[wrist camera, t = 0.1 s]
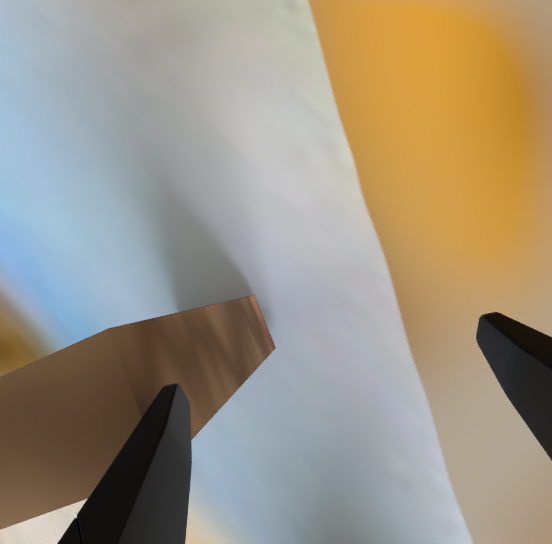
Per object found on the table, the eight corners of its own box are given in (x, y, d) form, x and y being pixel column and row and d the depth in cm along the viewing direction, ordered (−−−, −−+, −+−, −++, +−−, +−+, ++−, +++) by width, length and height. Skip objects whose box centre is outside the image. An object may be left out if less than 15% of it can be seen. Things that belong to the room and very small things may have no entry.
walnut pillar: (275, 347, 25) (162, 471, 9) (201, 377, 26) (-15, 535, 10) (253, 295, 25) (108, 328, 10) (181, 326, 26) (-59, 403, 11)
